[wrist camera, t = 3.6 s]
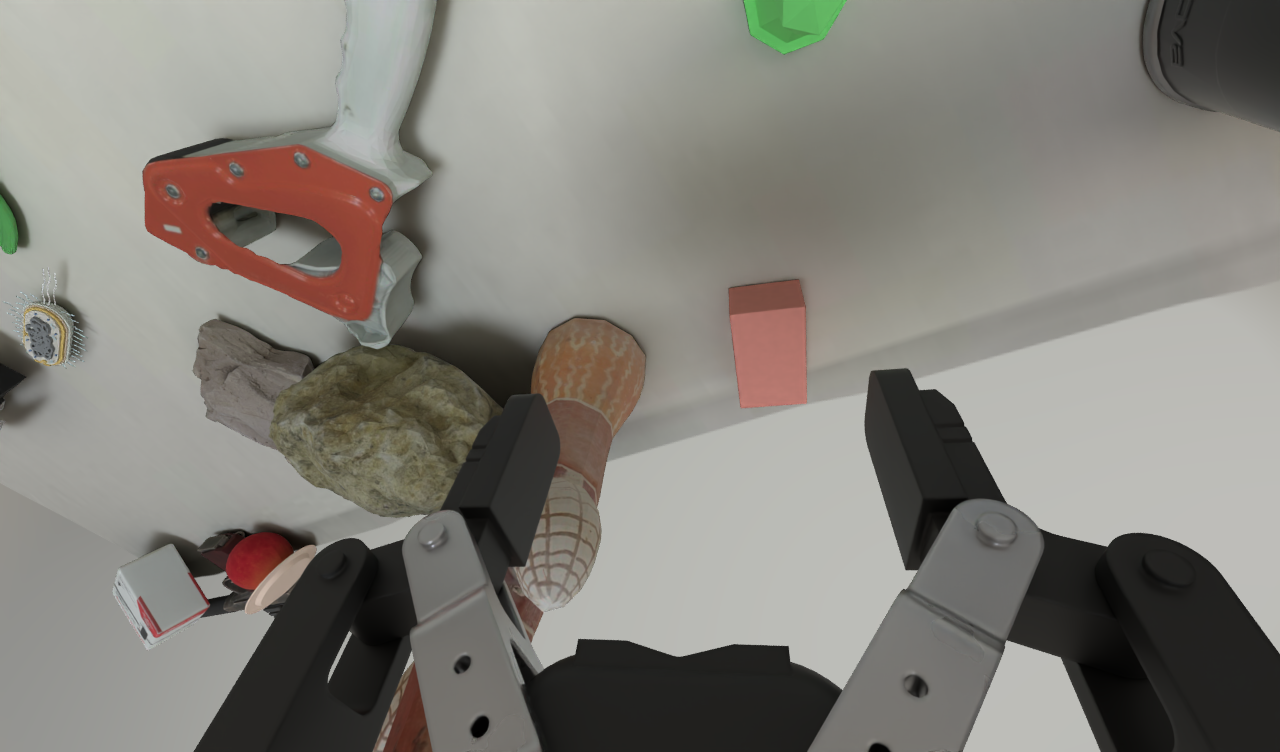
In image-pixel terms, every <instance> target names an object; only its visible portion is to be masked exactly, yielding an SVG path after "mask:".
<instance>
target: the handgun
mask: <svg viewBox="0 0 1280 752" xmlns="http://www.w3.org/2000/svg"><path fill="white" fill-rule="evenodd" d="M239 534H242V536H241V535H239ZM244 538H245V533H244V532H242V531H239V532H237V533H235V534H233V533H232V532H230V533H225V534H221V535H218V536H215V537H209V538H208V539H207V540H206V541H205V542H204V543H203V544H202V545H201V546H200V547H199V548H198V550H197V551H199V552H202V553H201V555H202V556H204V557H205V558H207V559H208V560H209V561H211V562H212V563H214V564H215V565H217V566H218V567H220V568H221V569H223V570H224V571H225V572H226V563H227V559H228V557H229V554H230V553H231V551H232V550H233V548H234V547H235V546H236V545H237V544H238V543H239V542H240V541H241V540H243V539H244ZM298 580H299V579H298ZM298 580H297V581H296V582H295V584H294V585H293V586H292V587H291V588H290V589H289V590H287V591H286V592H285V593H284V594H283V595H282V596H280V597H279V598H278V599H276V600H275V601H274V602H272V603H271V604H270V605H268V606H267V608H266V607H265V608H264V611H266V612H267V613H269V612H270V613H269V615H271V616H274V618H276V616H277V614H278V613H279V611H280V609H281V608H282V606H283V604H284V603H285V601H286V600H287V598H288V596H289V595H290V593H291V591H292V590H293V588H294V586H295V585H296V583H297V582H298ZM222 583H223V585H224V586H225V587H226V588H228V589H230V590H231V591H234V592H232V593H231V594H230V595H227V596H222V597H217V598H212V599H207V600H208V602H209V603H210V607H209V608H208V609H207V610H206V612H205V613H204V614H203V615H202V616H201V617H200V618H202V617H207V616H214V615H219V614H225V613H231V612H236V611H239V610H245V606H246V603H247V601H248V600H249V598H250V596H251V595H252V593H253V592H254V591H255V590H252V589H245V588H242V587H239V586H238V585H236V584H234V583H233V582H232V581H231V580H230V579H229V577H228V576H227V577H226V578H225V580H224V581H223V582H222Z"/></svg>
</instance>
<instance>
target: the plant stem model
mask: <svg viewBox="0 0 1280 752" xmlns="http://www.w3.org/2000/svg"><path fill="white" fill-rule="evenodd" d="M645 358H646V356H645V355H644V353H643V352H642V350H641V349H640V347H639V346H638V344H637V343H636V341H635V340H634V338H633V337H632V336H631V335H629V334H628V333H626V332H624V331H622V330H621V329H619V328H617V327H616V326H614V325H612V324H610V323H609V322H607V321H605V320H594V319H580V318H574V319H572V320H570V321H568V322H566V323H564V324H562V325H561V326H559V327H557V328H555V329H553V330H551V331H550V332H549V334H548V335H547V337H546V339H545V341H544V343H543V345H542V346H541V348H540V350H539V352H538V356H537V360H536V363H535V367H534V370H533V374H532V381H531V394H535V393H540V394H541V395H542V396H543V397H544V399H545V402H546V404H547V406H548V409H549V411H550V414H551V416H552V419H553V421H554V424H555V426H556V429H557V431H558V434H559V438H560V456H559V460H558V463H557V466H556V469H555V473H554V476H553V479H552V482H551V486H550V489H549V492H548V495H547V498H546V502H545V505H544V508H543V511H542V515H541V518H540V521H539V524H538V527H537V531H536V534H535V537H534V540H533V543H532V547H531V550H530V553H529V556H528V560H527V563H526V566H525V567H508V569H507V572H506V575H505V578H504V580H505V582H506V584H507V586H508V588H509V591H510V593H511V596H512V598H513V601H514V603H515V606H516V608H517V610H518V613H519V615H520V618H521V620H522V623H523V625H524V628H525V630H526V633H527V635H528V637H529V640H530V642H532V639H533V636H534V633H535V631H536V629H537V627H538V624H539V622H540V620H541V617H542V615H543V612H547V611H550V610H554V609H558V608H561V607H564V606H565V605H566V604H567V603H568V602H569V601H570V600H571V599H572V598H573V597H574V596H575V595H576V594H577V593H578V592H579V591H580V590H581V589H582V587H583V585H584V584H585V582H586V580H587V578H588V577H589V575H590V572H591V570H592V568H593V565H594V563H595V559H596V556H597V552H598V549H599V545H600V541H601V523H600V516H599V511H598V509H597V506H598V502H599V498H600V493H601V488H602V482H603V477H604V471H605V466H606V462H607V457H608V453H609V449H610V446H611V442H612V439H613V437H614V436H615V435H616V433H617V432H618V430H619V429H620V428H621V426H622V425H623V423H624V422H625V421H626V419H627V418H628V416H629V415H630V414H631V412H632V411H633V409H634V407H635V405H636V403H637V401H638V400H639V398H640V395H641V392H642V388H643V385H644V379H645ZM373 752H433V751H432V746H431V741H430V736H429V731H428V726H427V721H426V717H425V712H424V707H423V702H422V697H421V692H420V687H419V682H418V677H417V672H416V667H415V662H414V661H413V663H412V664H411V665H410V666H409V668H408V669H407V670H406V671H405V673H404V674H403V675H402V677H401V679H400V682H399V685H398V687H397V690H396V692H395V695H394V698H393V700H392V703H391V705H390V708H389V711H388V713H387V716H386V718H385V721H384V724H383V726H382V729H381V731H380V734H379V737H378V739H377V742H376V744H375V747H374V750H373Z"/></svg>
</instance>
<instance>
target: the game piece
mask: <svg viewBox="0 0 1280 752" xmlns="http://www.w3.org/2000/svg"><path fill="white" fill-rule="evenodd" d="M743 1H744V6H745V11H746V16H747V21H748V26H749V31H750V34H751V36H753V37H755V38H756V39H758V40H760V41H762V42H763V43H765V44H767V45H768V46H770V47H772V48H773V49H775V50H777V51H779V52H780V53H782V54H787V53H790V52H792V51H795V50H797V49H800V48H802V47H805V46H808V45H810V44H813V43H815V42H818V41H820V40H823V39H824V38H825V36H826V35H827V33H828V31H829V30H830V28H831V26H832V24H833V23H834V21H835V19H836V18H837V16H838V14H839V13H840V11H841V9H842V7H843V6H844V4H845V2H846V1H847V0H743Z"/></svg>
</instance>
